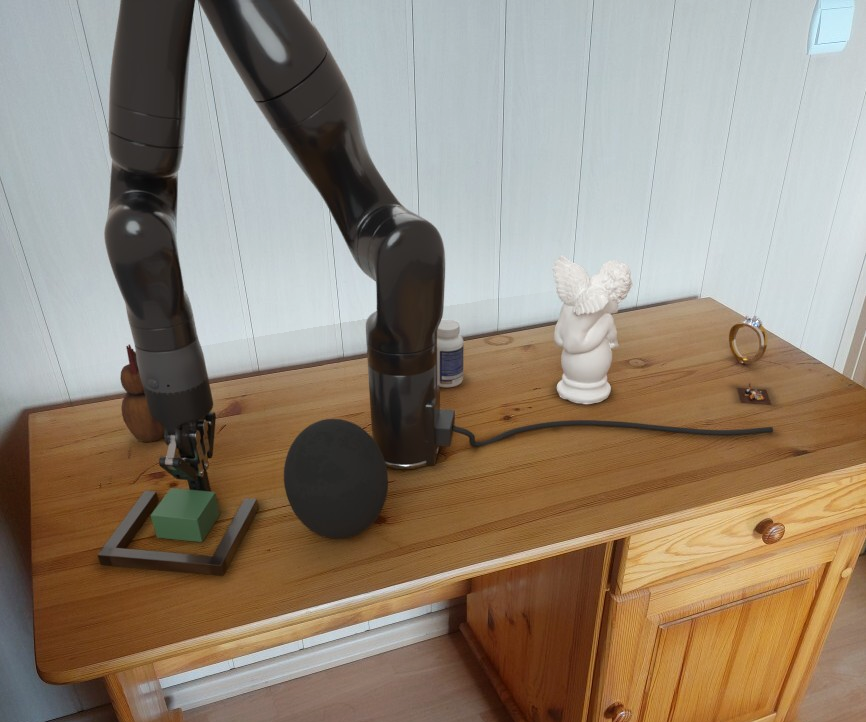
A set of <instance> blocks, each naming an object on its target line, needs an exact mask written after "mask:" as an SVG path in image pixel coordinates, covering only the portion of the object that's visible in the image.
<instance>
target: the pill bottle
mask: <svg viewBox="0 0 866 722" xmlns="http://www.w3.org/2000/svg"><path fill="white" fill-rule="evenodd" d="M460 329H461V327H460V323H459V322H458V321H456V320H453V319H441V322H440V324H439V327H438V330H437V385H439V386H440V388H447V389H448V388H454V387H457V386H459V385H461V384H462V383H463V381H464V350H465V349H464V348H465V347H464V345H465V344H464V343H465V342H464V338H463V337H462V336H461V335H460V332H461V331H460Z"/></svg>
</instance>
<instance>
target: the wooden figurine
mask: <svg viewBox="0 0 866 722" xmlns="http://www.w3.org/2000/svg"><path fill="white" fill-rule="evenodd" d="M125 349H126V352H127V358H128V364H126V365H124V366H123V367H122V369H121V370H120V376H119V377H120V383H121V386H122V389H123V390H124V391H125V392H126V393H125V395H124V397H123V399H122V401H121V416H122V419H123V422H124V424H125V426H126V428H127V429H128V431H129V432H130V433H131V434H132V436H134V438H135V439H136V440H138V441H141V442H144V443H153V442H156V441H159V440H161V439H162V438H164V427H163V425H162V424H160V423H159V422H158V421H156V420H155V419H153V418H152V416H151V415H150V412H149V408H148V404H147V401H146V397H145V393H144V389H143V385H142V381H141V377H140V373H139V369H138V365H137V359H136V350H134V348H132V346H131V344H130V343H129V344H128V345H126V348H125Z"/></svg>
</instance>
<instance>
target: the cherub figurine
mask: <svg viewBox="0 0 866 722" xmlns="http://www.w3.org/2000/svg"><path fill="white" fill-rule="evenodd" d="M554 264H555V265H554V266H552V271H553V272H554V273H553V277H554V278H555V279H554V282H555V283H556V286H555V290H556V294H557V295H558V299H559V300H561V302H563V304H562V305H561V308H560V312H559V316H558V319H557V322H556V324H555V326H554V331H553V332H554V334H553V341H554V343H555V345H556V346H557V347H558V348H563V349H562V352H561V356H560V364H561V365H560V366H561V369H562V372H563V373H562V375H561V379H560V380H559V381H558V383H557V385H556V391H557V393H558V395H559V397H560V398H561V399H563V400H567V401H570V402H572V403H575V404H582V405H591V404H595V403H601V402H602V401H604V400H606V399H607V398H609V396H610V394H611V391H612V387H611V384H610V383H609V382H608V375H607V374H608V372H609V371H610V368H611V365H612V362H613V351H612V350H613V349H618V348H619V347H620V345H619V340H618V332H617V331H618V330H617V328H616V327H617V326H616V325H615V319H614V316H613V314H618V312H619V304H621V303H622V301H623V300H625V299H626V298H627V297H628V294H629V293H630V292H631V288H632V287H633V281H632V278H631V269H630V267H629V266H628V265H627V264H626V263H624V262H621V261H619V260H616V259H613V260H609V261H606V262H605V263H602V266H601V268H599V269H598V272H597V274H593V275H589V273H588V271H587V270H586V269H585V268H584V267H582V266H581V265H580V264H578V263H576V262H572V261H571V260H569V259H568V258H566V256H564V255H562V254H560V256H558V259H557V260H554Z"/></svg>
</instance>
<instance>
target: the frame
mask: <svg viewBox="0 0 866 722" xmlns="http://www.w3.org/2000/svg"><path fill="white" fill-rule="evenodd" d="M159 501H160V500H159V497H158V493H157V491H156V490H144V491H143V492H142V494H141V495H140V496H139V498H138V499H137V501H136V502H135V503H134V505H133V506H132V507H131V509H130V510H129V511H128V512H127V514H126V515H125V517H124V518H123V520H122V521H121V522H120V523H119V525H118V526H117V528H116V529H115V530H114V532H113V533H112V535H111V536H110V537H109V538H108V540H107V541H106V542H105V544H104V545H103V547H101V549H100V550H99V552H98V553H97V558H98V562H99V564H100V566H104V567H105V566H107V567H116V568H117V567H119V568H127V569H128V568H129V569H139V570H140V569H141V570H153V571H163V572H173V573H174V572H175V573H184V574H185V573H187V574H197V575H209V576H220V577H223V576H224V575H225V573H226V572H227V569H228V567H229V565H230V563H231V562H232V560H233V558H234V556H235V554H236V552H237V550H238V548H239V546H240V544H241V543H242V540H243V539H244V537H245V536H246V534H247V531H248V529H249V528H250V526H251V524H252V522H253V520H254V518H255V516H256V514H257V512H258V511H259V505H258V499H257V498H249V497H245V498H244V499H243V500H242V503H241V505H240V506H239V508H238V510H237V512H236V514H235V515H234V517H233V518H232V521H231V522H230V524H229V526H228V528H227V529H226V531H225V533H224V535H223V537H222V538H221V540H220V542H219V543H218V545H217V547H216V549H215V551H214V553H213V555H205V554H204V555H203V554H190V553H181V552H168V551H157V550H147V549H135V548H127V547H128V546H129V544H130V543H131V542H132V540H133V539H134V538H135V536H136V535H137V533H138V532H139V530H140V529H141V527H142V526H143V525H144V523H145V522H146V520H147V519H148V517H149V516H150V515H151V514H152V513H153V511H154V510H155V508H156V507H157V505H158V504H159V503H160V502H159Z"/></svg>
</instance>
